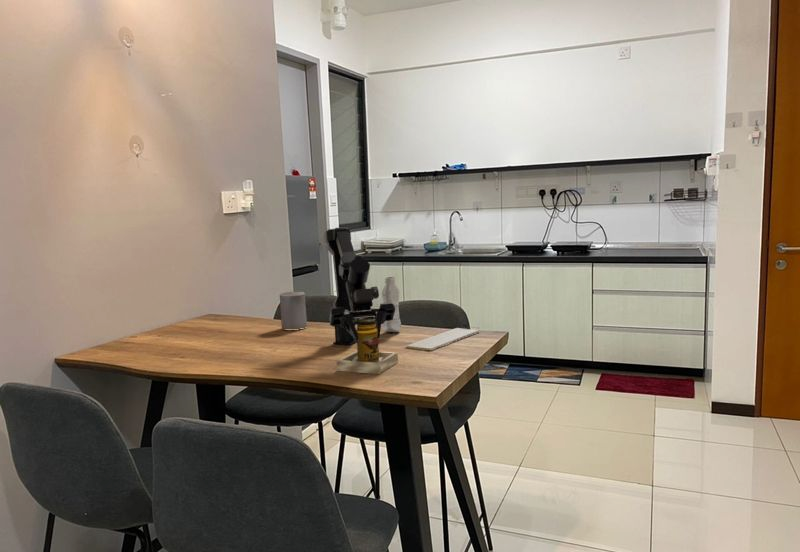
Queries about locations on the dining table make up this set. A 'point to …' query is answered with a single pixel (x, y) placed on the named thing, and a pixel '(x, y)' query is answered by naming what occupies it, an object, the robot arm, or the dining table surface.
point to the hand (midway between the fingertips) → (367, 338)
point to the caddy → (367, 363)
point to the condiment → (367, 341)
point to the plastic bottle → (392, 296)
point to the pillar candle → (293, 310)
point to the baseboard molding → (442, 339)
